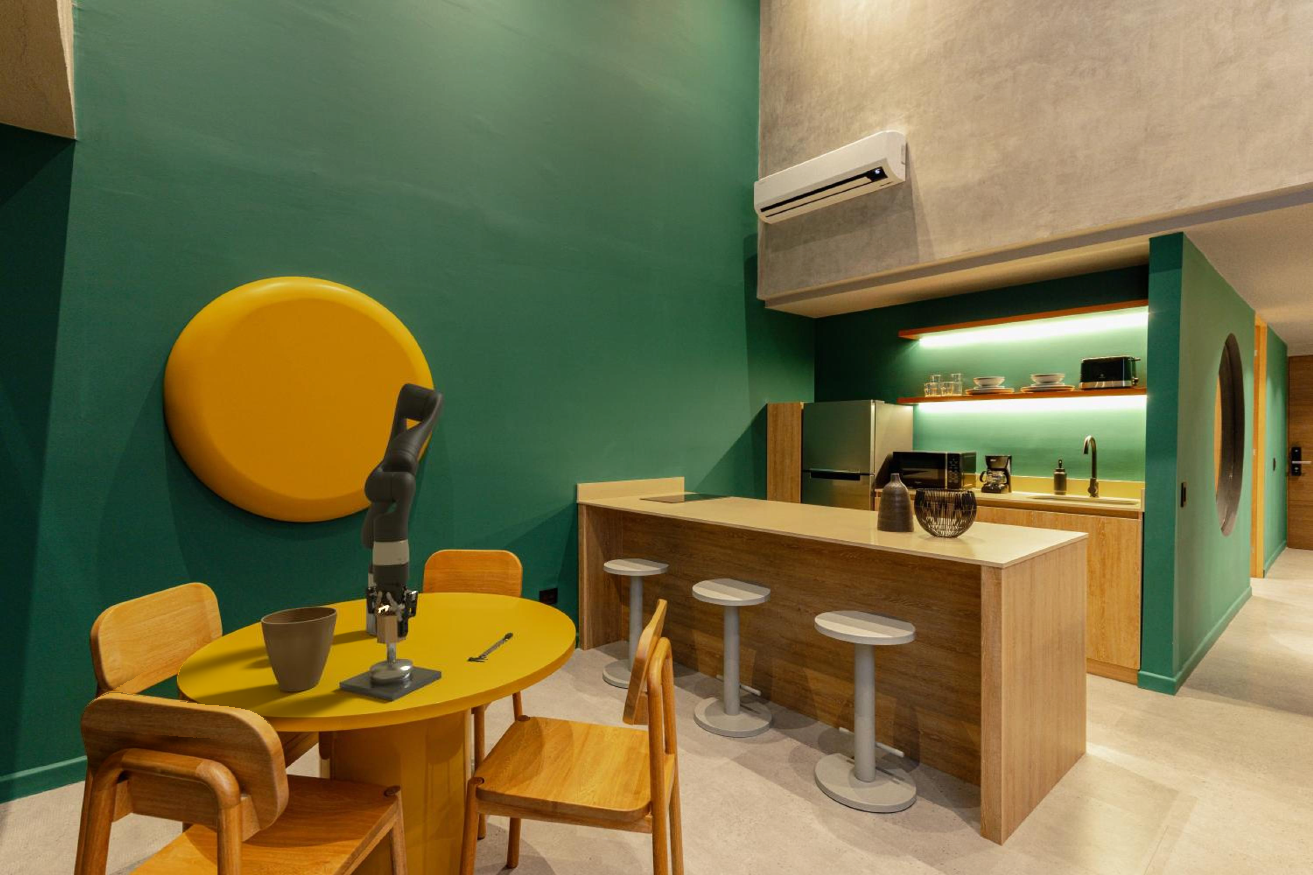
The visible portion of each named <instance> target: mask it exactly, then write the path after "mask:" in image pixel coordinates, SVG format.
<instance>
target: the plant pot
mask: <svg viewBox="0 0 1313 875" xmlns="http://www.w3.org/2000/svg"><path fill="white" fill-rule="evenodd" d="M337 618H338V608H335V607H331V606H309V607H307V606H306V607H297V608H290V609H284V610H279V611H276V612H272V613H270V614H267V615H265V616H263V617H262V618H261V619H260V622H261V623H260V625H261V630H262V634H263V635H262V636H263V640H264V645H265V651H266V654H267V659H268V660H269V664H270V667H271V670H272V672H273V675H274V678H275V680H276V683H277V684H278V686H279V688H280V690H281V691H282V692H285V693H295V692H302V691H303V692H304V691H306V690H310V689H312V688H314V687H316V686H317V685H319V682H320V681H321V678H322V676H323V672H324V670H325V668H326V664H327V661H328V658H329V655H330V652H331V647H332V644H333V639H334V634H335V629H336V623H337Z"/></svg>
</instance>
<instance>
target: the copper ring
mask: <svg viewBox="0 0 1313 875" xmlns="http://www.w3.org/2000/svg"><path fill="white" fill-rule="evenodd" d="M401 613H402V615H403V614H404V613H403V611H402V610H401ZM407 636H408V635H407ZM407 636H405V637H402V638H399V637H398V618H397V615H396V613H395V612H393V610H387V611H382V612H380V613H377V636H376V643H377V644H380V645H381V644H383V645H387V644H391V643H396V644H398V643H401V642H403V641H406V640H407Z"/></svg>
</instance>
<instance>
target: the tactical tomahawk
mask: <svg viewBox="0 0 1313 875" xmlns="http://www.w3.org/2000/svg"><path fill="white" fill-rule="evenodd" d="M511 637H514V633H513V632H508V633H506V634H505V635H504V637H503V638H502V639H500V640H498V641H497V642H496V643H495V644H493V645H491V646H490V647H489V648H488V649H486V650H485V651H483V652H482V653H481V654H480V655H478V657H473V656H470V657H469V658H468V659H467V660H468V662H475V663H476V662H477V663H486V661H489V659H488V658H487V656H488V655H489V654H491V653H492V652H493V650H494V651H495V650H496V649H498V648H499V647H501V646H502V645H504V644H505V643H506V642H507V641H506V639H509V640H510V639H511ZM504 642H505V643H504ZM501 644H502V645H501ZM500 645H501V646H500ZM497 647H498V648H497Z"/></svg>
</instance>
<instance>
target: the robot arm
mask: <svg viewBox="0 0 1313 875" xmlns="http://www.w3.org/2000/svg"><path fill="white" fill-rule="evenodd" d="M443 404H444V396H443V393H441V392H439V391H437V390H435V389H432V388H428V387H424V386H421V385H419V384H414V383H410V382H406V383H404V384H403V385H402V386H401V389H400V390H399V393H398V396H397V400H396V404H395V410H394V414H393V420H392V425H391V429H390V434H389V438H388V442H387V445H386V448H385V451H384V454H383V458H382V460H381V461H380V462H379V463H378V464H377V465H376V466H375V467H374V468H373V470H371V472H370V473H369V474H368V476H367V478H366V480H365V482H364V487H363V489H364V490H363V492H364V495H365V497H366V499H367V500H368V501H369V502H370V505H369V507H368V510H367V512H366V515H365V517H364V520H363V524H362V528H361V532H360V533H361V535H360V538H361V543H362V545H363V547H364V548H365V549H367V550H372V560H371V561H370V562H369V564H368V567H367V571H368V572H367V573H368V583H367V584H368V585H367V586H368V587H366V588H365V598H366V600H365V608H366V609H365V615H366V616H365V618H366V619H365V623H366V624H365V626H366V628H365V630H366V631H365V632H366V633H368V634H369V635H370V636H376V637H377V613H380V612H382V611H387V610H393V612H395V613H396V615H397V618H398V637H399V638H402V637H405V636H408V633H409V619H411V618H415V617H416V616H417V609H418V600H419V591H418V590H417V589H416V590H410V589H409V588H408V585H407V582H408V581H409V579H410V546H409V537H408V536H409V534H408V533H409V531H408V527H409V525H408V523H409V516H410V511H411V508H412V503H413V500H414V497H415V493H416V489H417V485H416V483H417V482H416V476H417V472H418V468H419V456H420V454H421V452H422V449H423V447H424V445H425V444H426V441H427V440H428V438H429V436H430V435H431V433H432V431H433V429H434V427H435V425H436V423H438V422H437V421H438V420H439V418H440V414H441V412H442V408H443ZM408 420H410V421H415V422H418V423H416V424H415V425H413V426H412V427H410V428H408ZM394 505H395V508H394V510H393V511H391V512H389V511H390V510H391V509H392V508H393V507H394ZM401 610H402V611H403V613H404V614H403V615H402V613H401Z"/></svg>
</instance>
